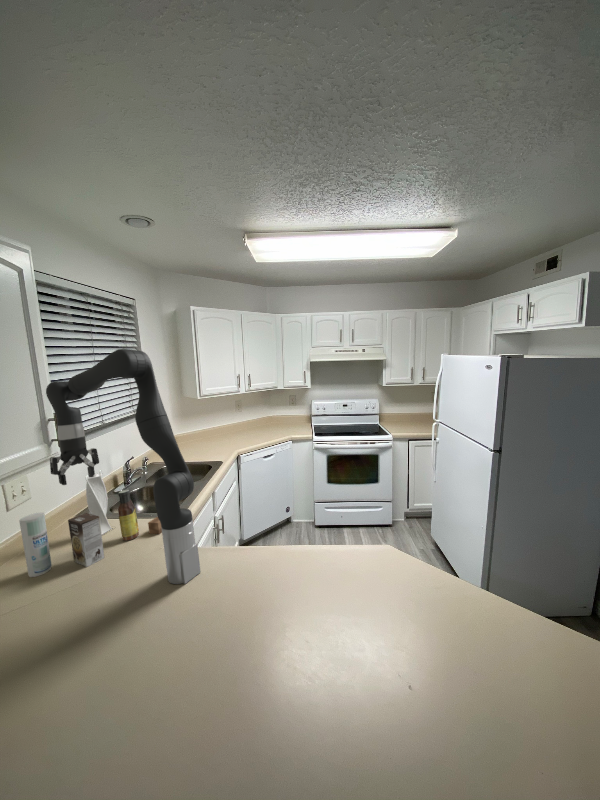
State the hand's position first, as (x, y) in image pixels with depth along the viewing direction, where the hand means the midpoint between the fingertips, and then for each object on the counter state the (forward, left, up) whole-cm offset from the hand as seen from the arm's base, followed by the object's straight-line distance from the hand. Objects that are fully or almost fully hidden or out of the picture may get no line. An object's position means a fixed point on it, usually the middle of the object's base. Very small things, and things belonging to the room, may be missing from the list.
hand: (78, 480), depth 107 cm
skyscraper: (+19, -14, -30) cm, 38 cm away
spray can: (+10, +11, -30) cm, 34 cm away
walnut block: (-6, -24, -30) cm, 39 cm away
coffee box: (0, 0, -30) cm, 30 cm away
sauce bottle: (+1, -16, -30) cm, 34 cm away
